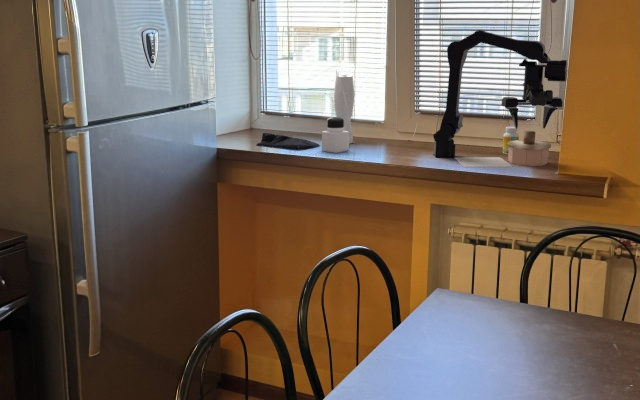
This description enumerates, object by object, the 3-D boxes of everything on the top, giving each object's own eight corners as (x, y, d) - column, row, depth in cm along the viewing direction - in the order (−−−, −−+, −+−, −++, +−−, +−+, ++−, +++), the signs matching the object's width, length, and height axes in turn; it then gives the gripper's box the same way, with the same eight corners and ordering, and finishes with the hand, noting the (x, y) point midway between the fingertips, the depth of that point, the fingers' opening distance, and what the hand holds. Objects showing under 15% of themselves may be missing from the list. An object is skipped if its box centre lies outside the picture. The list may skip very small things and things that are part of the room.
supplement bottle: (509, 152, 275) (511, 125, 273) (520, 154, 271) (522, 127, 269) (499, 153, 273) (500, 126, 270) (510, 155, 268) (512, 128, 266)
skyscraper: (329, 142, 294) (329, 69, 287) (341, 140, 300) (342, 68, 293) (345, 145, 289) (345, 70, 282) (357, 142, 294) (358, 69, 288)
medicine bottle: (349, 150, 278) (349, 117, 275) (336, 153, 273) (336, 119, 270) (334, 148, 283) (334, 116, 280) (321, 150, 277) (321, 118, 275)
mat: (463, 168, 247) (463, 166, 247) (453, 158, 262) (453, 157, 262) (512, 168, 247) (512, 166, 247) (499, 158, 263) (499, 157, 263)
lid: (514, 149, 246) (514, 135, 245) (502, 142, 259) (503, 128, 258) (556, 149, 246) (558, 134, 245) (542, 142, 260) (543, 128, 259)
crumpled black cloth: (296, 152, 276) (296, 139, 275) (253, 146, 290) (252, 133, 288) (323, 147, 287) (323, 134, 286) (280, 141, 301) (280, 129, 300)
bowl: (514, 167, 248) (516, 149, 247) (505, 160, 260) (506, 143, 259) (551, 167, 249) (552, 149, 247) (539, 160, 260) (541, 142, 259)
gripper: (511, 83, 240) (508, 132, 243) (570, 82, 240) (566, 131, 244) (502, 79, 251) (499, 127, 254) (558, 79, 251) (555, 126, 255)
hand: (530, 128), depth 252 cm, fingers open, 9 cm apart
